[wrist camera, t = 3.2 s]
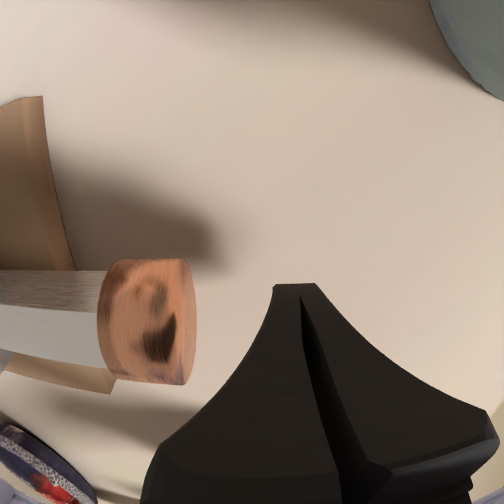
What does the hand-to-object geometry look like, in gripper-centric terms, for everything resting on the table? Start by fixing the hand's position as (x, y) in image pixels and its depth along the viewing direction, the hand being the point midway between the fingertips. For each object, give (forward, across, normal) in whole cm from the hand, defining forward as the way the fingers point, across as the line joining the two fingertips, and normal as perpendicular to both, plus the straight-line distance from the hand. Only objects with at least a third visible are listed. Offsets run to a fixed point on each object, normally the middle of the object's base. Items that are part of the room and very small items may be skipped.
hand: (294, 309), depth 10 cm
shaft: (+1, +12, 0) cm, 12 cm away
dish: (+4, +32, +34) cm, 47 cm away
